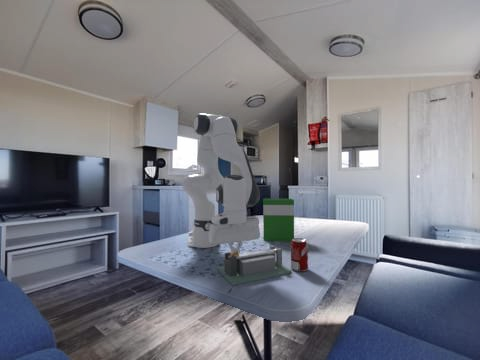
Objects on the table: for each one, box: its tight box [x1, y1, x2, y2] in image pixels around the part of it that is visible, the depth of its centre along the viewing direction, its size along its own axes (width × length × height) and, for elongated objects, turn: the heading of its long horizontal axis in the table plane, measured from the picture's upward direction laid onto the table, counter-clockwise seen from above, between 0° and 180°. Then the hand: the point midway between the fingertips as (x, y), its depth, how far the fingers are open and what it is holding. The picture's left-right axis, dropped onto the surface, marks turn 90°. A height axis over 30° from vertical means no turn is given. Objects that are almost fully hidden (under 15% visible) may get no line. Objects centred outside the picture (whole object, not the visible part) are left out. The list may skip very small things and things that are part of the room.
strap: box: [228, 247, 277, 259], centre depth 96 cm, size 3×22×2 cm, turn 115°
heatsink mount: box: [216, 245, 293, 286], centre depth 96 cm, size 16×25×8 cm, turn 115°
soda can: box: [290, 237, 309, 273], centre depth 97 cm, size 7×7×12 cm
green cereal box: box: [262, 198, 295, 242], centre depth 143 cm, size 18×7×24 cm, turn 83°
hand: (235, 253), depth 92 cm, fingers closed, pressing on strap
